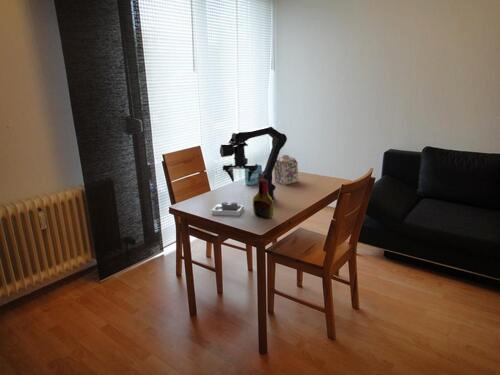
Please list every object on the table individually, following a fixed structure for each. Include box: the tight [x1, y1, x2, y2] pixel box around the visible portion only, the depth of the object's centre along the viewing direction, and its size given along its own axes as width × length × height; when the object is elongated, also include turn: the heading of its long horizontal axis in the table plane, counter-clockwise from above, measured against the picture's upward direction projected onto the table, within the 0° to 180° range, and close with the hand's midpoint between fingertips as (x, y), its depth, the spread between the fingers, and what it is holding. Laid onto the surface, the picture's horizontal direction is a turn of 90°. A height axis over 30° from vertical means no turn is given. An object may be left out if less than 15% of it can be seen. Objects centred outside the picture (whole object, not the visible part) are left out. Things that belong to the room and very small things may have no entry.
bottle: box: [252, 179, 275, 219], centre depth 180 cm, size 12×6×20 cm, turn 50°
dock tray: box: [211, 203, 245, 217], centre depth 192 cm, size 15×9×2 cm, turn 76°
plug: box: [217, 201, 238, 211], centre depth 191 cm, size 11×4×4 cm, turn 76°
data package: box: [244, 163, 263, 186], centre depth 239 cm, size 12×4×12 cm, turn 134°
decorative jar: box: [273, 154, 299, 186], centre depth 237 cm, size 12×12×18 cm
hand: (241, 182), depth 199 cm, fingers open, 9 cm apart
